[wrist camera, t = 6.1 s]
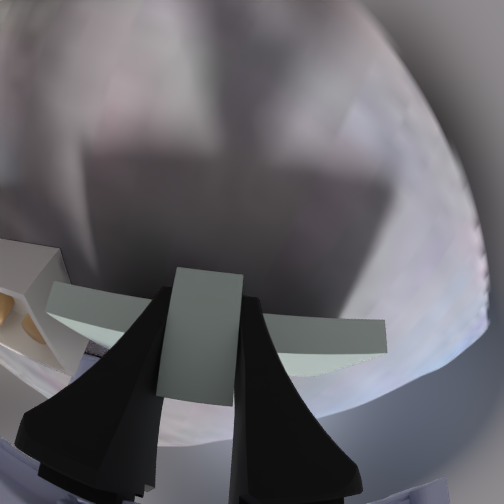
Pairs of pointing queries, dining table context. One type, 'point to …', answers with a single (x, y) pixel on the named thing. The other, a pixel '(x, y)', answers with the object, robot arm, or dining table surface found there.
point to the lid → (215, 333)
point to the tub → (35, 307)
